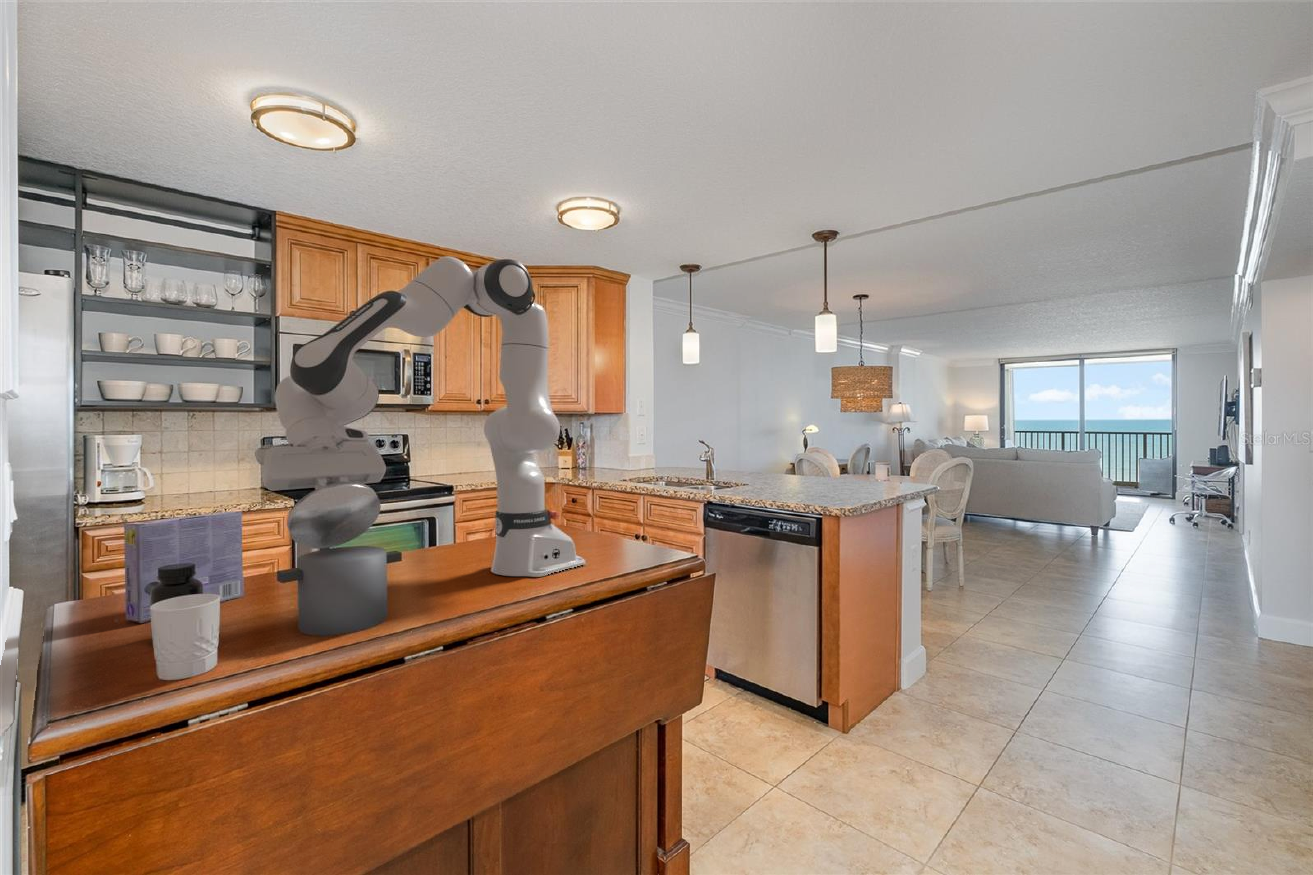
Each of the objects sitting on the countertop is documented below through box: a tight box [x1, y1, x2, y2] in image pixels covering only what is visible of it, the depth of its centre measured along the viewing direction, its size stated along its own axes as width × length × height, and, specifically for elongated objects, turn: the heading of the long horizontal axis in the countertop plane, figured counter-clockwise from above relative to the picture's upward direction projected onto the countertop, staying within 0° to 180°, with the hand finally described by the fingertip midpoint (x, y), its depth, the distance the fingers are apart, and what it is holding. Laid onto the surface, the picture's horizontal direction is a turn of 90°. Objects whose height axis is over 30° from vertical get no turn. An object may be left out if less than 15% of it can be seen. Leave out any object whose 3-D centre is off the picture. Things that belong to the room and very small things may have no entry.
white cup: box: [150, 594, 221, 681], centre depth 85 cm, size 8×8×10 cm
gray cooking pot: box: [276, 545, 403, 637], centre depth 105 cm, size 20×14×12 cm
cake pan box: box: [123, 510, 244, 624], centre depth 114 cm, size 19×5×18 cm, turn 157°
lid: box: [286, 482, 381, 550], centre depth 107 cm, size 15×15×2 cm
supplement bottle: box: [150, 563, 203, 643], centre depth 98 cm, size 7×7×12 cm
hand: (338, 500), depth 106 cm, fingers closed, pressing on lid
